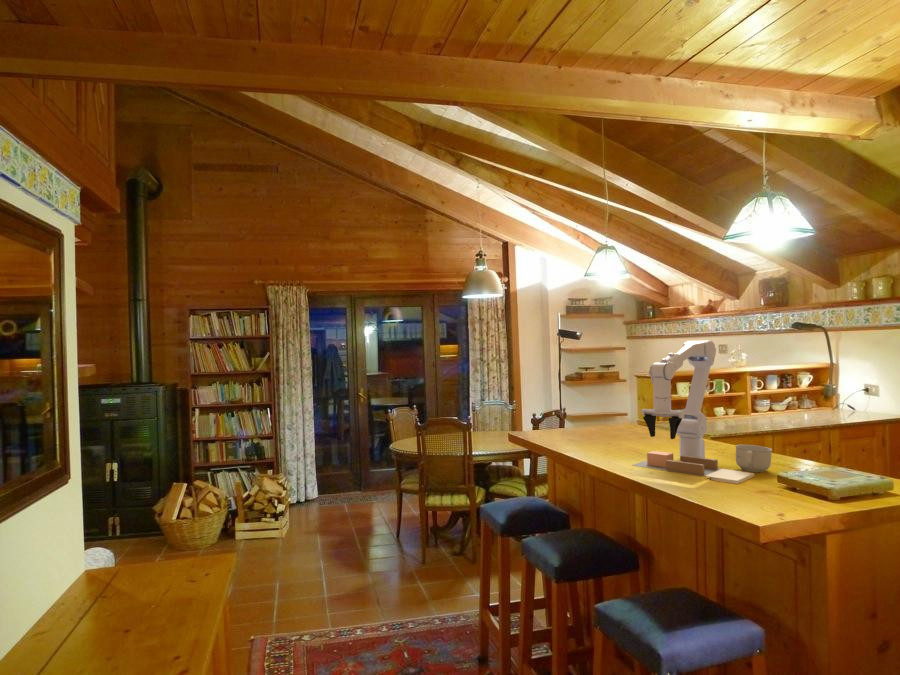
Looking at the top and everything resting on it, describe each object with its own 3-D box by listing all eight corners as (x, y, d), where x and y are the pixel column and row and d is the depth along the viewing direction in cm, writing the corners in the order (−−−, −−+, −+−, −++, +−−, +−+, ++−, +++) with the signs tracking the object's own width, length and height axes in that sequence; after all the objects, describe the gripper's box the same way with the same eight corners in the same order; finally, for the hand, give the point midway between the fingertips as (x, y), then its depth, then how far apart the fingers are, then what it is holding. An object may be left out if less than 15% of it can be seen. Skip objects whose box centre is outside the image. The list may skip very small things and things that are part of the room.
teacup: (743, 466, 212) (742, 442, 212) (777, 470, 204) (776, 446, 204) (726, 472, 202) (726, 448, 202) (762, 477, 194) (761, 452, 194)
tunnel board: (650, 462, 221) (650, 450, 221) (754, 476, 196) (753, 463, 196) (631, 468, 211) (631, 456, 211) (737, 484, 186) (737, 470, 186)
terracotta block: (654, 462, 215) (654, 450, 215) (673, 465, 210) (673, 453, 210) (647, 464, 211) (647, 452, 211) (666, 467, 206) (666, 455, 206)
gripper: (636, 397, 212) (637, 436, 212) (677, 399, 202) (678, 441, 202) (646, 395, 217) (647, 434, 217) (686, 398, 207) (687, 438, 207)
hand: (662, 437), depth 210 cm, fingers open, 7 cm apart
